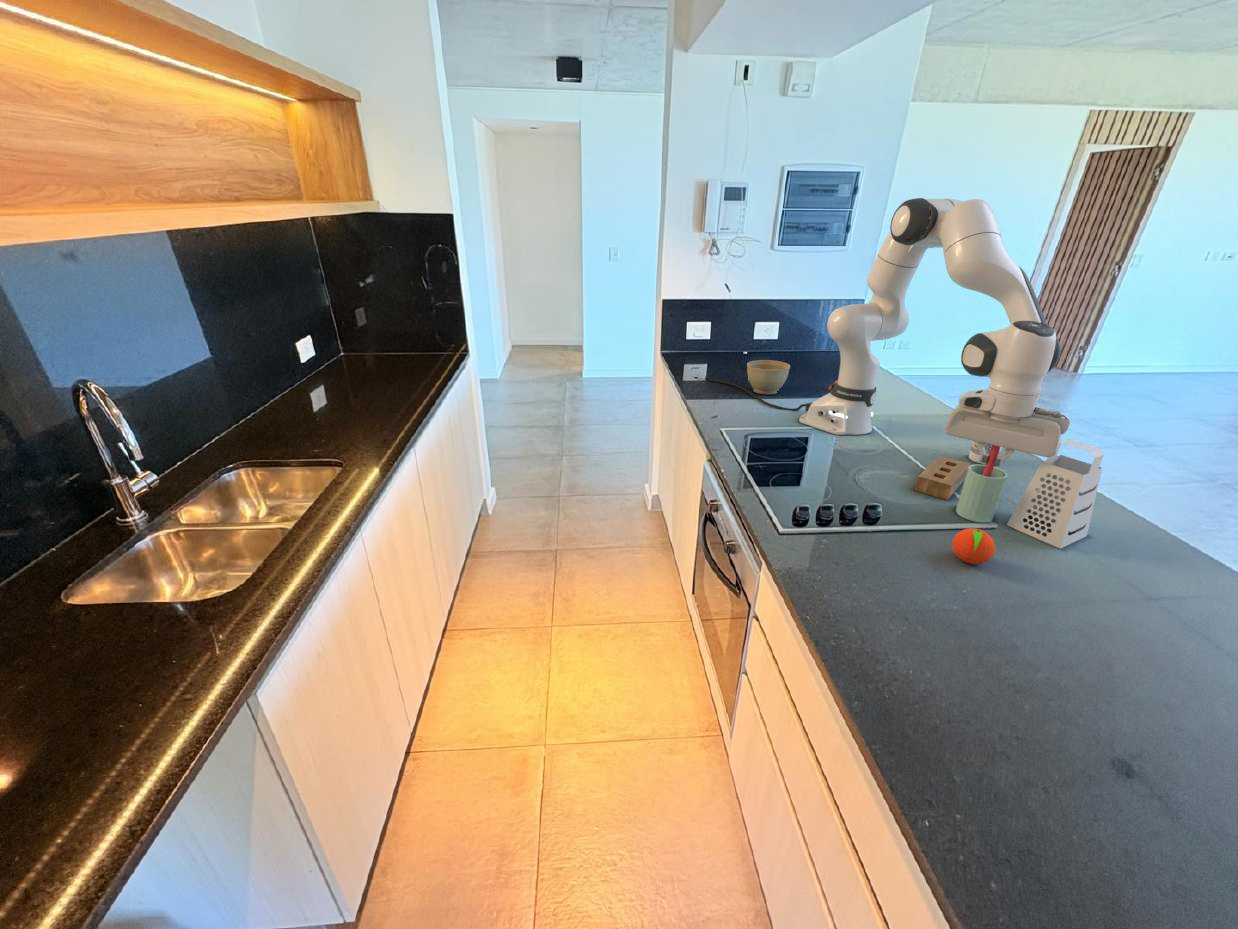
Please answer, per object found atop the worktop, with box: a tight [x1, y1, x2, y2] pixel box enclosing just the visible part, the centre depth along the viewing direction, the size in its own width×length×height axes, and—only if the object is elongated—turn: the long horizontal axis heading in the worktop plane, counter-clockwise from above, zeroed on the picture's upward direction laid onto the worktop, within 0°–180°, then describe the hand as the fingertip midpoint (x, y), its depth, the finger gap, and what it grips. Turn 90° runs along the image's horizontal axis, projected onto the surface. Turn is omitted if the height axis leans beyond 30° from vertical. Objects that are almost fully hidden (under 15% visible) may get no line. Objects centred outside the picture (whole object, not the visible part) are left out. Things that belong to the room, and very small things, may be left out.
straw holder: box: [914, 455, 972, 501], centre depth 134 cm, size 7×17×4 cm, turn 136°
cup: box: [955, 463, 1009, 524], centre depth 118 cm, size 7×7×11 cm
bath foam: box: [968, 440, 1003, 465], centre depth 144 cm, size 7×7×20 cm
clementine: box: [951, 527, 996, 565], centre depth 102 cm, size 8×7×7 cm
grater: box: [1006, 438, 1105, 549], centre depth 110 cm, size 10×10×20 cm
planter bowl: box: [746, 359, 791, 395], centre depth 206 cm, size 16×16×11 cm
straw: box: [983, 445, 1000, 477], centre depth 115 cm, size 2×2×14 cm
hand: (990, 463), depth 115 cm, fingers closed on straw, 1 cm apart
